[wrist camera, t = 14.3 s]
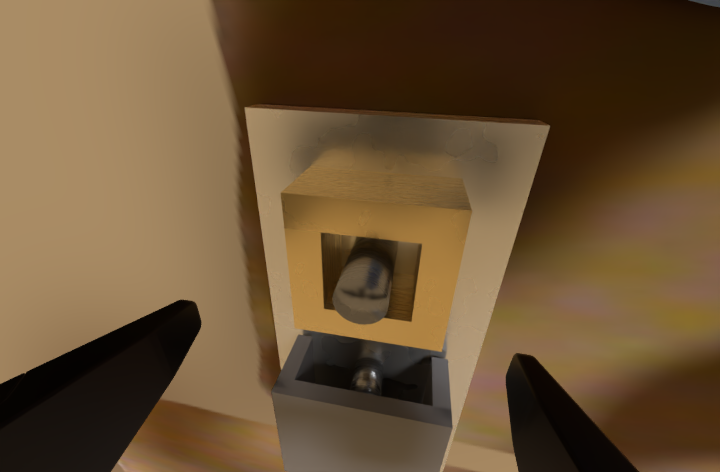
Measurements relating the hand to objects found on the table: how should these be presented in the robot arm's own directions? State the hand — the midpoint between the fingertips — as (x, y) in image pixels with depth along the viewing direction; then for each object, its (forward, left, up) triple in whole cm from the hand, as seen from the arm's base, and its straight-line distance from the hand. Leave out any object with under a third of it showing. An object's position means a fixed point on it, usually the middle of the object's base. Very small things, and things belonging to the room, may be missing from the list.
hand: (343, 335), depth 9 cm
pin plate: (0, +8, -7) cm, 11 cm away
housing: (0, +10, -5) cm, 12 cm away
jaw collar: (0, 0, -6) cm, 6 cm away
